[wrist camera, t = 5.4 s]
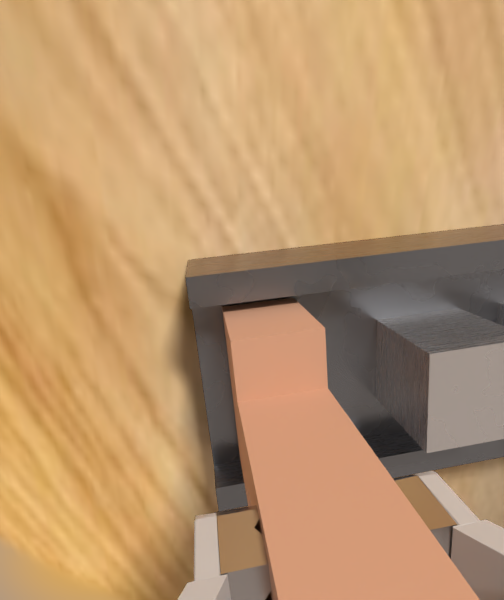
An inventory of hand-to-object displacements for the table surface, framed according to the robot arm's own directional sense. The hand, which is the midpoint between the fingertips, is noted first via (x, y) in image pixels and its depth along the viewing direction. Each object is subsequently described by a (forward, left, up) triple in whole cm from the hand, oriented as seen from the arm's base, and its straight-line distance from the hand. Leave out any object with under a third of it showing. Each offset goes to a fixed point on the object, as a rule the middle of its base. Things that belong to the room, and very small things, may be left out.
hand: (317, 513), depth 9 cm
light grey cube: (-7, 0, -8) cm, 11 cm away
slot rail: (-7, 0, -11) cm, 13 cm away
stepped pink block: (0, 0, -7) cm, 7 cm away
